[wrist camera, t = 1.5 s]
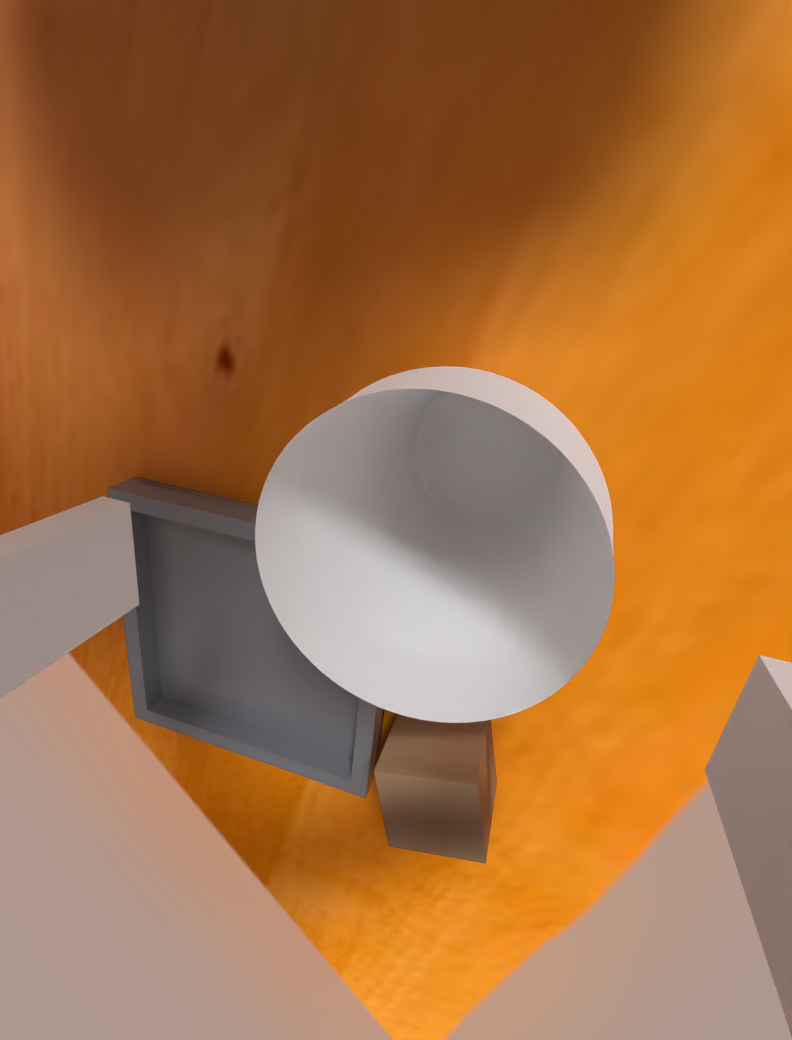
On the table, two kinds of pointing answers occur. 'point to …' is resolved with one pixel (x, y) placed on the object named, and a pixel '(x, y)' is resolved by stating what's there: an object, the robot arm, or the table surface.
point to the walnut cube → (438, 787)
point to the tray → (231, 645)
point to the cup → (440, 545)
